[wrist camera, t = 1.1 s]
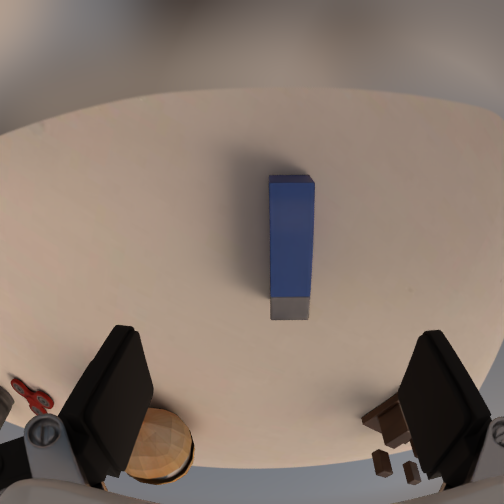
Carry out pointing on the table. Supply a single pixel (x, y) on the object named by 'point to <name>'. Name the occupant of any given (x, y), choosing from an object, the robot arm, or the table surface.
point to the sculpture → (161, 449)
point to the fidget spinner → (33, 397)
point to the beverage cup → (4, 405)
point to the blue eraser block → (291, 245)
